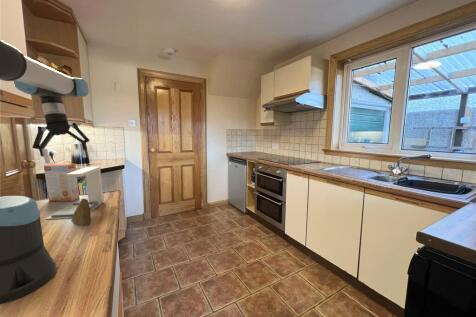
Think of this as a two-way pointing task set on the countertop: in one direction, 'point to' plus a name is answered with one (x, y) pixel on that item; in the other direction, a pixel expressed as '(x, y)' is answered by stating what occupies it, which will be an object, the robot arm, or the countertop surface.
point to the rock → (82, 213)
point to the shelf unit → (92, 187)
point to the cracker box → (61, 182)
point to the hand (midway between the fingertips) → (66, 160)
